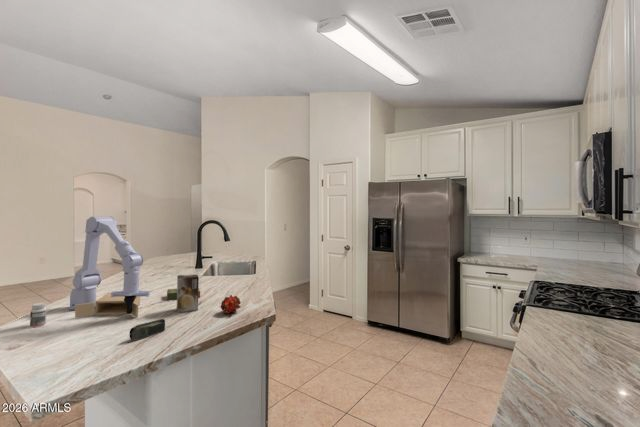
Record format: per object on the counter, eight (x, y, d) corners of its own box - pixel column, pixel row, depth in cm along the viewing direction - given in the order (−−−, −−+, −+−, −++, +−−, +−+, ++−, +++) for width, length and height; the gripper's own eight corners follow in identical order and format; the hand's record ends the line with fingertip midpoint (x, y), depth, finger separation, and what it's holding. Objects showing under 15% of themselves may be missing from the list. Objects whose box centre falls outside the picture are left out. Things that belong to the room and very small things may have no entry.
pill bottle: (32, 323, 128) (33, 302, 128) (47, 322, 130) (48, 301, 130) (27, 327, 124) (28, 306, 124) (43, 326, 126) (43, 305, 126)
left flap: (94, 314, 140) (94, 302, 140) (94, 315, 140) (94, 302, 140) (75, 317, 136) (75, 304, 136) (75, 317, 136) (75, 304, 136)
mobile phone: (162, 317, 129) (125, 328, 116) (167, 318, 128) (130, 329, 114) (161, 329, 129) (124, 341, 116) (166, 331, 128) (129, 343, 114)
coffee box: (196, 306, 159) (197, 274, 159) (198, 310, 153) (199, 276, 153) (176, 308, 155) (177, 275, 154) (177, 312, 149) (178, 277, 149)
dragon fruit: (239, 311, 159) (224, 323, 147) (226, 300, 160) (211, 310, 149) (247, 299, 156) (233, 310, 145) (234, 288, 157) (220, 298, 146)
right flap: (137, 317, 140) (138, 304, 140) (136, 317, 139) (137, 304, 139) (131, 313, 144) (131, 301, 144) (130, 313, 143) (130, 301, 143)
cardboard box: (95, 315, 141) (95, 301, 141) (107, 305, 154) (108, 292, 154) (130, 313, 144) (131, 300, 144) (139, 304, 158) (140, 292, 158)
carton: (200, 298, 174) (200, 290, 174) (167, 301, 167) (167, 292, 167) (198, 294, 181) (198, 286, 181) (166, 296, 174) (167, 288, 174)
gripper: (109, 284, 134) (107, 316, 134) (147, 284, 138) (145, 315, 138) (115, 280, 141) (113, 310, 141) (151, 280, 145) (150, 310, 145)
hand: (129, 312), depth 140 cm, fingers closed, pressing on right flap
